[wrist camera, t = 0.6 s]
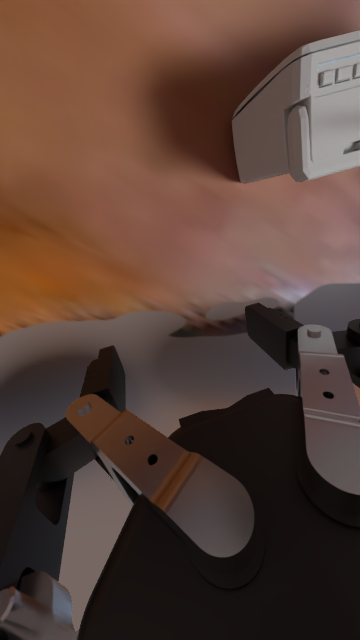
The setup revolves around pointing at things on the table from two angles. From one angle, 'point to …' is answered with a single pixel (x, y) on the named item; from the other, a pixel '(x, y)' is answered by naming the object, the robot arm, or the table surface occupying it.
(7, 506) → the robot arm
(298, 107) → the stereo radio cassette player
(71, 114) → the table surface
